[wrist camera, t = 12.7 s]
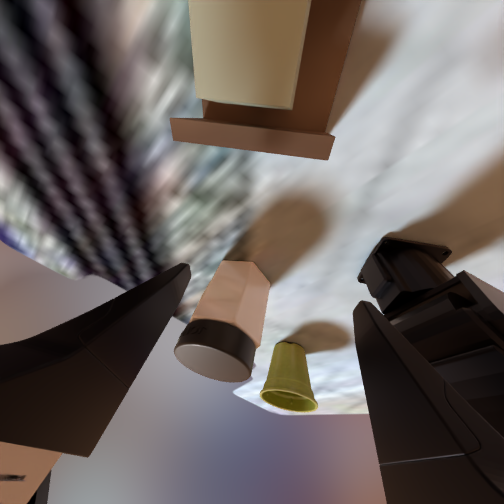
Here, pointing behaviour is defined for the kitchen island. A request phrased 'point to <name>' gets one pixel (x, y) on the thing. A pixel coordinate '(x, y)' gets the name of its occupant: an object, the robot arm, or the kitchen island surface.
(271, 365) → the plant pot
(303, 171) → the kitchen island surface
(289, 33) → the beige rectangular block
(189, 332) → the jar
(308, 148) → the shelf frame
